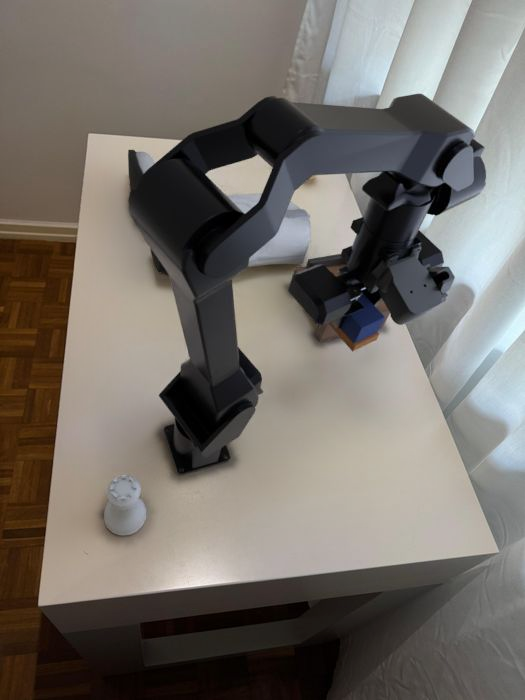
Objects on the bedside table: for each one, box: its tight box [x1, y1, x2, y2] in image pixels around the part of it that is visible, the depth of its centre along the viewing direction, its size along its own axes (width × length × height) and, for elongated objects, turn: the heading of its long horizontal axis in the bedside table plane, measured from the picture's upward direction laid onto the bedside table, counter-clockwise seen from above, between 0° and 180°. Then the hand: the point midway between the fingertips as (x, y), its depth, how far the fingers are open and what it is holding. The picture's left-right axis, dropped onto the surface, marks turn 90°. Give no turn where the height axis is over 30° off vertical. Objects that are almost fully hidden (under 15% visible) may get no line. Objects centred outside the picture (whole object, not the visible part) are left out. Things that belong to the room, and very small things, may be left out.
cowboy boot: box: [127, 149, 312, 276], centre depth 90 cm, size 10×28×25 cm
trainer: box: [328, 293, 385, 352], centre depth 71 cm, size 9×4×4 cm, turn 34°
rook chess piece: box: [103, 474, 147, 536], centre depth 59 cm, size 4×4×8 cm
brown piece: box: [293, 253, 390, 343], centre depth 84 cm, size 11×11×6 cm
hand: (348, 320), depth 71 cm, fingers closed on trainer, 4 cm apart
